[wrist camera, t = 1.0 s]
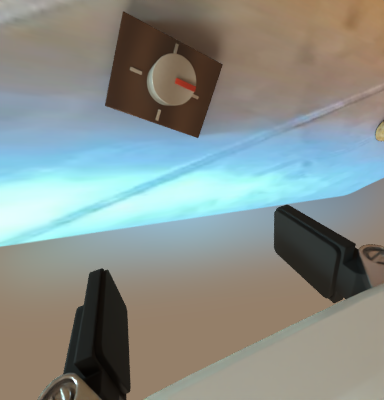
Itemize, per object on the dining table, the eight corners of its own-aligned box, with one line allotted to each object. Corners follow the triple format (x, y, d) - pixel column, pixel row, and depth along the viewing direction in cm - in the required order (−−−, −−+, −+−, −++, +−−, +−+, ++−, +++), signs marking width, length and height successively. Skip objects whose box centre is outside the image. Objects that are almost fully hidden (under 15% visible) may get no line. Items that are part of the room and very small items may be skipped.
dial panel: (106, 105, 28) (104, 105, 26) (122, 20, 25) (123, 10, 23) (192, 135, 34) (198, 138, 31) (213, 67, 31) (223, 64, 28)
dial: (142, 97, 27) (147, 95, 22) (152, 53, 25) (159, 43, 21) (178, 111, 29) (189, 112, 24) (190, 71, 27) (203, 65, 23)
